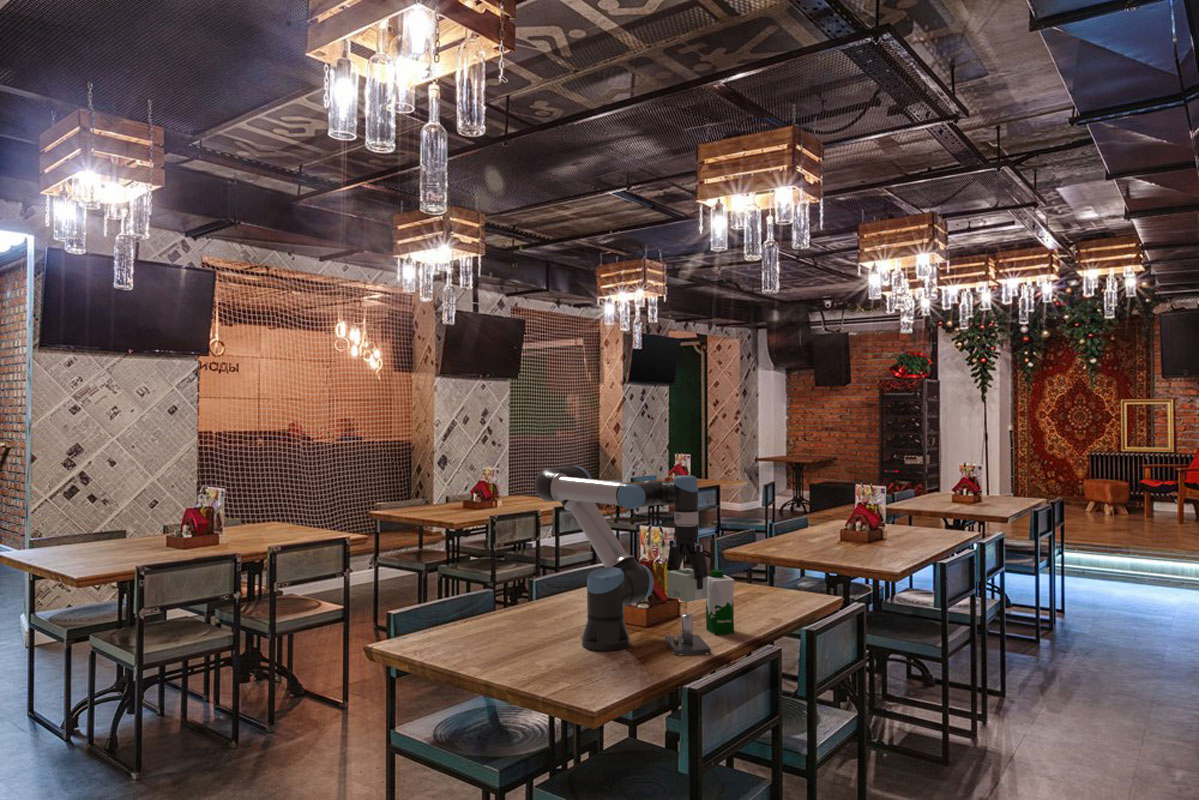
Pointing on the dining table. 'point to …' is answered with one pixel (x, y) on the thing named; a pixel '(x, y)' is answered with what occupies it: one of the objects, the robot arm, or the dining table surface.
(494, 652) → the dining table surface
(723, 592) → the milk carton
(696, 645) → the base plate
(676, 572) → the notched green box
